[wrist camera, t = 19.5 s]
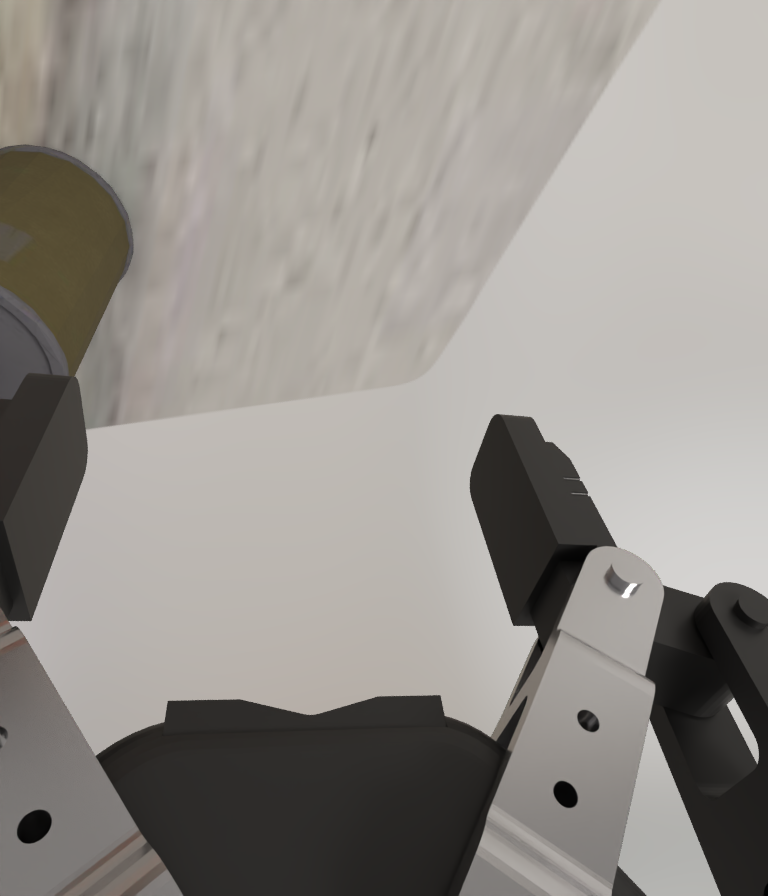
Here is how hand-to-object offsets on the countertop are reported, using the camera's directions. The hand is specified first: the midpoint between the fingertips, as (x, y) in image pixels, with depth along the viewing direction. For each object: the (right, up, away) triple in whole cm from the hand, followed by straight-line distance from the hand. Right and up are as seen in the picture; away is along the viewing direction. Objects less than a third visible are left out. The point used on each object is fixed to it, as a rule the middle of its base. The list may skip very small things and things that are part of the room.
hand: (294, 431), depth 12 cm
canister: (-21, +15, +29) cm, 39 cm away
